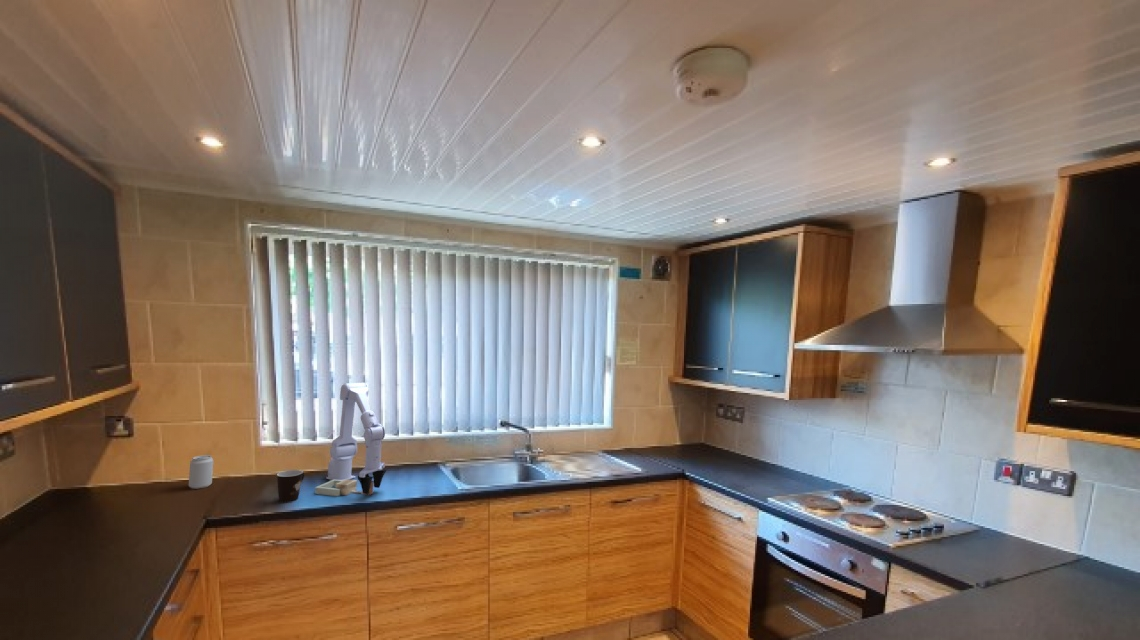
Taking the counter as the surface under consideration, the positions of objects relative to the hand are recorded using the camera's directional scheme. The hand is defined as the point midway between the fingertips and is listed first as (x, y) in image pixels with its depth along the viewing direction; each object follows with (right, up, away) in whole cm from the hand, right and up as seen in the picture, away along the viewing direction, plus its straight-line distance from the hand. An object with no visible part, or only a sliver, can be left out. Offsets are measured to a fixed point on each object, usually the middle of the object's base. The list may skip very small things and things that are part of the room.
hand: (371, 490), depth 187 cm
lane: (-16, -1, +3) cm, 16 cm away
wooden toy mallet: (-7, -1, +1) cm, 7 cm away
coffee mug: (-27, -1, -8) cm, 28 cm away
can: (-70, +1, +1) cm, 70 cm away
